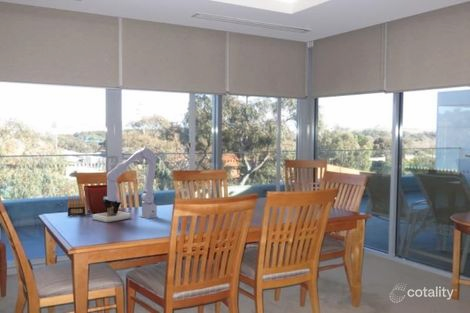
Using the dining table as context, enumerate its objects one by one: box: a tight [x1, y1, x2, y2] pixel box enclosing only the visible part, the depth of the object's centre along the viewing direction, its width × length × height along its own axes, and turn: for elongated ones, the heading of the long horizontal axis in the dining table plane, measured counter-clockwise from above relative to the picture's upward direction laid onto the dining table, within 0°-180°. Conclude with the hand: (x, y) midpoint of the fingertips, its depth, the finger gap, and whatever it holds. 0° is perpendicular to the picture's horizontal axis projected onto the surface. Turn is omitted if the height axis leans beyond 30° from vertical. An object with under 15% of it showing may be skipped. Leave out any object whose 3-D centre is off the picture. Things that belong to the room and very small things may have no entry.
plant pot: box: [83, 184, 114, 213], centre depth 309 cm, size 19×19×17 cm
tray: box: [92, 210, 132, 223], centre depth 281 cm, size 14×18×3 cm
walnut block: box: [106, 207, 117, 217], centre depth 281 cm, size 4×4×6 cm
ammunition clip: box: [67, 195, 86, 216], centre depth 293 cm, size 11×2×12 cm, turn 110°
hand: (111, 212), depth 281 cm, fingers open, 7 cm apart
